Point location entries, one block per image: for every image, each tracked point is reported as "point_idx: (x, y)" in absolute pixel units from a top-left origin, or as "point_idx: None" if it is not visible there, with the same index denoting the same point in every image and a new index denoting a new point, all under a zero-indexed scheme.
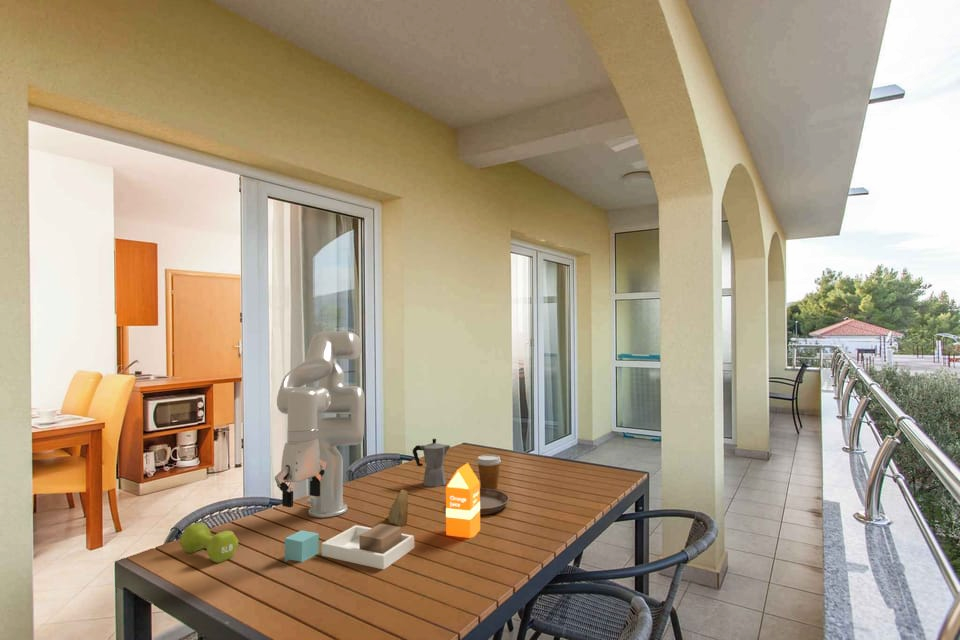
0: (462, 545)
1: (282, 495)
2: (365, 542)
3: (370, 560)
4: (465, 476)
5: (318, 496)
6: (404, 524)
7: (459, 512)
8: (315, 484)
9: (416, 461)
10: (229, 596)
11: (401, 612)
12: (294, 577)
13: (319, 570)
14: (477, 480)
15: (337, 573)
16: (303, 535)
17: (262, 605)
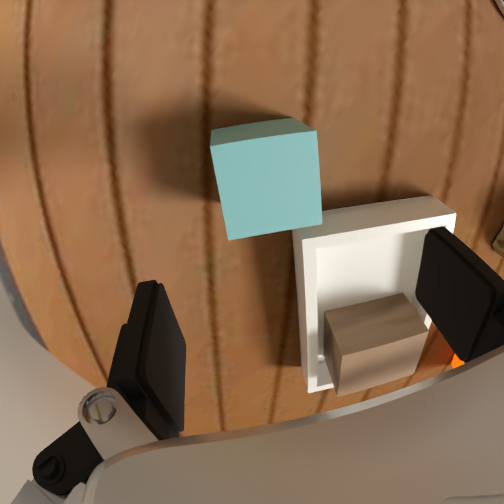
0: (434, 368)
1: (124, 340)
2: (336, 356)
3: (304, 361)
4: None
5: (418, 292)
6: (501, 254)
7: None
8: (463, 331)
9: None
10: (21, 212)
11: (219, 431)
12: (166, 251)
13: (233, 269)
14: None
15: (248, 312)
16: (276, 189)
17: (65, 300)
